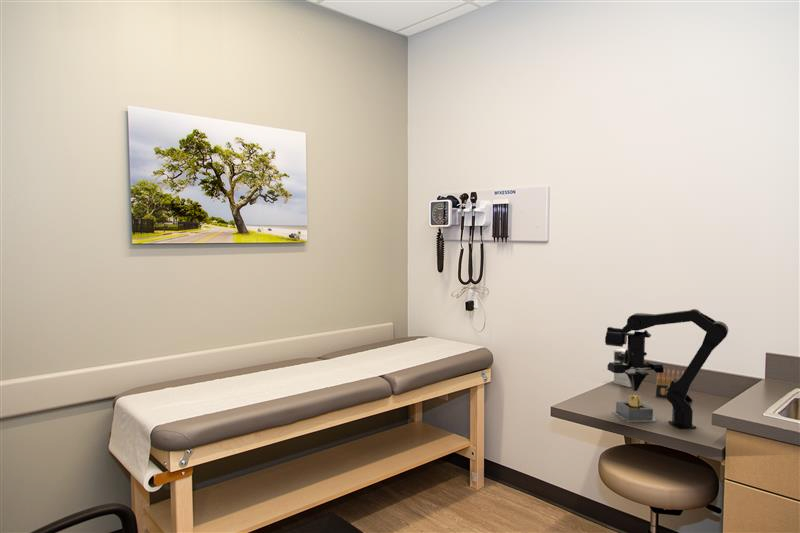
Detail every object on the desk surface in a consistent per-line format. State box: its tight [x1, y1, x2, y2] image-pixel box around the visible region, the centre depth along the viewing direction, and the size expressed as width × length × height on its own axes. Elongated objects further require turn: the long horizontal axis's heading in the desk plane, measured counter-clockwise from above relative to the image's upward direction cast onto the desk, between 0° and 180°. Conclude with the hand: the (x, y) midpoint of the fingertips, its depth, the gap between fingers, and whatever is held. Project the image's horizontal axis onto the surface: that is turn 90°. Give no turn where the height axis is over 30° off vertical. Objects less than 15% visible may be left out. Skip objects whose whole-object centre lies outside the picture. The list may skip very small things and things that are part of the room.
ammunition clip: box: [655, 368, 685, 399], centre depth 217 cm, size 11×2×12 cm, turn 62°
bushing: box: [628, 394, 642, 408], centre depth 192 cm, size 4×4×7 cm
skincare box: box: [613, 347, 634, 388], centre depth 237 cm, size 8×7×16 cm
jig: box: [611, 401, 658, 423], centre depth 193 cm, size 11×11×4 cm
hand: (634, 390), depth 192 cm, fingers closed
